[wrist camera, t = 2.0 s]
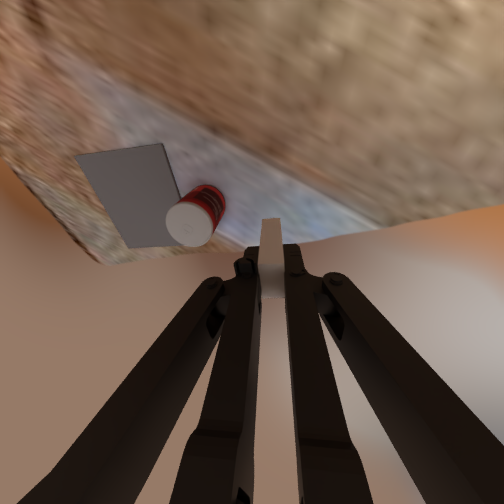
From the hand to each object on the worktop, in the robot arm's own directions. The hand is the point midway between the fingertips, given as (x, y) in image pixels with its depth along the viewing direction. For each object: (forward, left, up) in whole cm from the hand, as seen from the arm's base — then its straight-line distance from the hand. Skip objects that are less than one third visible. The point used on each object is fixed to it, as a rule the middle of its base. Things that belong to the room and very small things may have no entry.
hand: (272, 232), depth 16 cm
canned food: (+4, -14, -22) cm, 26 cm away
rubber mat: (+3, -28, -22) cm, 36 cm away
